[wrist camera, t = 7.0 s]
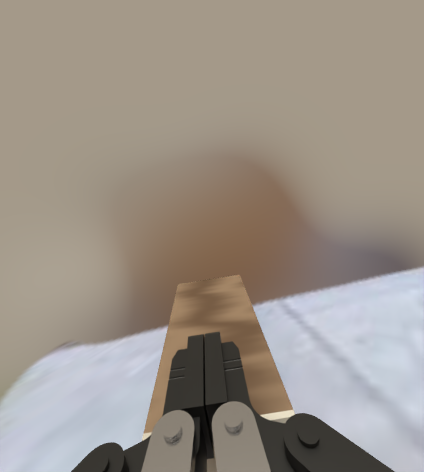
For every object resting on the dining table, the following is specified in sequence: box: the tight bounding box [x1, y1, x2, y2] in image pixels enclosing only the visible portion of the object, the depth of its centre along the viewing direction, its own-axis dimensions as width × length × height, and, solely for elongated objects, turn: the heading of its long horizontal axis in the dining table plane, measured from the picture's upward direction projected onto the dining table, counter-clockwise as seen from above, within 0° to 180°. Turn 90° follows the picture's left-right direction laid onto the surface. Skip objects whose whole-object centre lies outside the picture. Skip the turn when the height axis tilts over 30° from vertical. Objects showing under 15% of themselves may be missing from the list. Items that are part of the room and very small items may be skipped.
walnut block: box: [142, 275, 295, 472], centre depth 19 cm, size 7×4×16 cm
